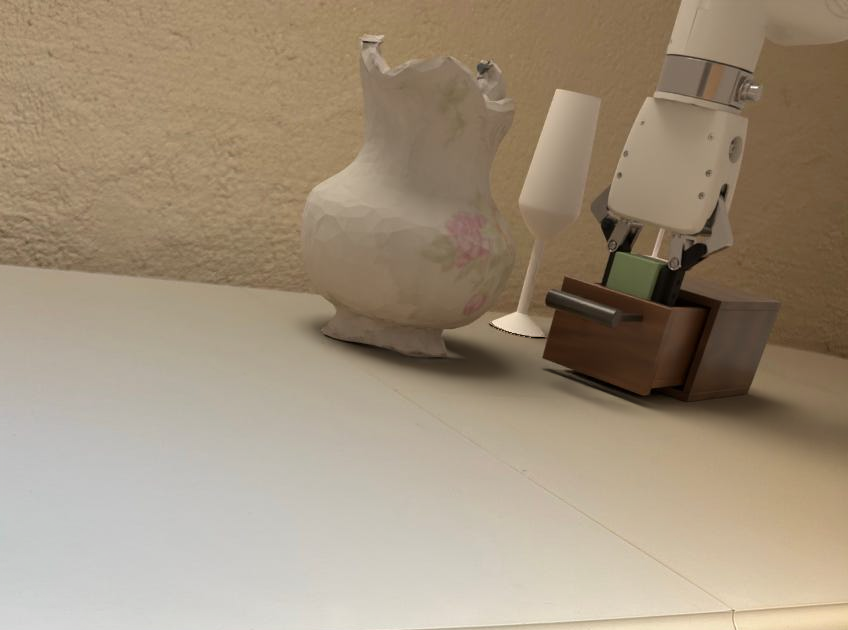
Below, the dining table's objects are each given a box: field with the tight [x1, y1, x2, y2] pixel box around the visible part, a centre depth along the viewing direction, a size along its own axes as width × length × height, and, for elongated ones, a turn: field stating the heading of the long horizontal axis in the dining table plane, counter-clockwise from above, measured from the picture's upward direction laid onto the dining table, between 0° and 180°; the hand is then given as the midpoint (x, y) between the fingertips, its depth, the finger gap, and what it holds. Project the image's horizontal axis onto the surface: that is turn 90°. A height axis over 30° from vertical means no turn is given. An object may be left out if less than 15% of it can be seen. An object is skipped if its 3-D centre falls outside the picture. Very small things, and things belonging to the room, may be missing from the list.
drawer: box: [541, 275, 711, 397], centre depth 99 cm, size 19×11×8 cm, turn 137°
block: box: [606, 252, 668, 300], centre depth 97 cm, size 4×4×4 cm
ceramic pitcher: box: [299, 34, 517, 358], centre depth 94 cm, size 22×20×25 cm
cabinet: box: [651, 273, 783, 403], centre depth 107 cm, size 15×13×10 cm
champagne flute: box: [491, 88, 602, 336], centre depth 112 cm, size 7×7×24 cm
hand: (634, 303), depth 97 cm, fingers closed on block, 4 cm apart
